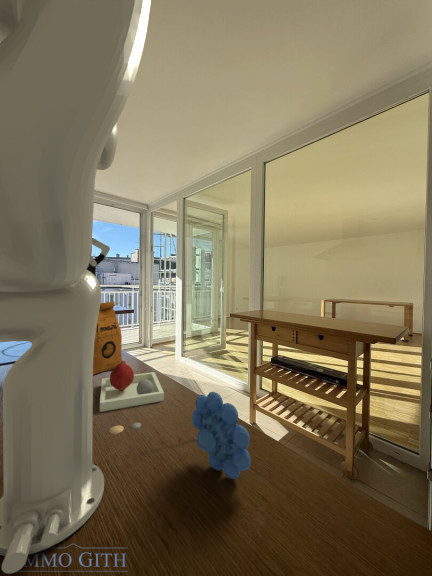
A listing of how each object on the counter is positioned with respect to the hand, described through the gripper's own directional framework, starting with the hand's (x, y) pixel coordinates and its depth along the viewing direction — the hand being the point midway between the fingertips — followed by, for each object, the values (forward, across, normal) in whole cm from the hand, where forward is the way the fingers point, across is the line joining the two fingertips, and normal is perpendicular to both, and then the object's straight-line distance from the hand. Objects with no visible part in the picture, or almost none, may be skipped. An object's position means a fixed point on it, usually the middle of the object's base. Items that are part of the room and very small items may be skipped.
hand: (63, 284), depth 50 cm
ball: (+28, +17, +3) cm, 33 cm away
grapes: (+28, +24, -25) cm, 45 cm away
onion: (+28, +12, +8) cm, 31 cm away
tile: (+28, +12, -9) cm, 32 cm away
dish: (+28, +14, +6) cm, 32 cm away
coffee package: (+28, +6, +27) cm, 40 cm away
